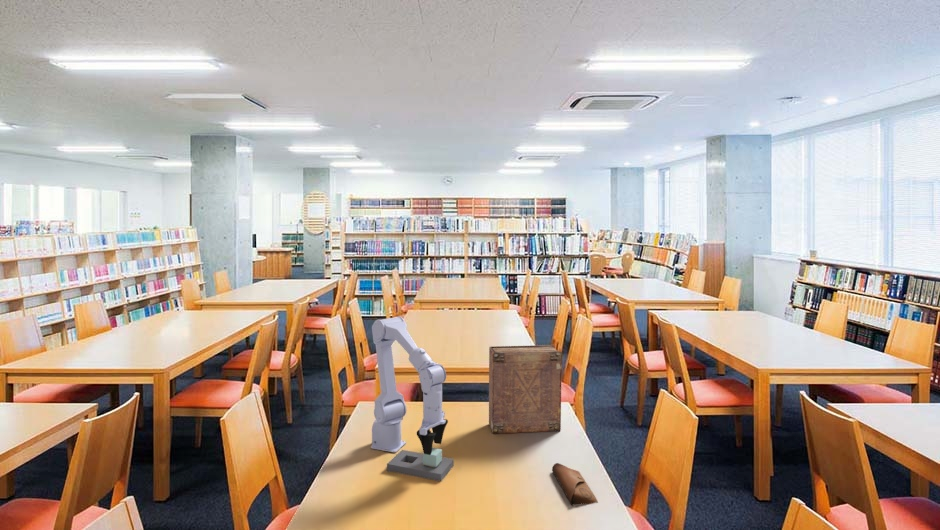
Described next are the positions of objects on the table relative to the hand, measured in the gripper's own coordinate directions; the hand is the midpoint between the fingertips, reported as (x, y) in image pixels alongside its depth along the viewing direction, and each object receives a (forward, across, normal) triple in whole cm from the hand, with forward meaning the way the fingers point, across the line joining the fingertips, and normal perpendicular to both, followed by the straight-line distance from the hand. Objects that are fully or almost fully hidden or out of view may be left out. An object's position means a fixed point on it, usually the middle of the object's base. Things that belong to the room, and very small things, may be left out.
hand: (432, 448), depth 149 cm
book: (+7, +41, -19) cm, 46 cm away
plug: (+7, 0, 0) cm, 7 cm away
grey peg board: (+7, 0, +4) cm, 8 cm away
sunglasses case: (+8, +6, -42) cm, 43 cm away
